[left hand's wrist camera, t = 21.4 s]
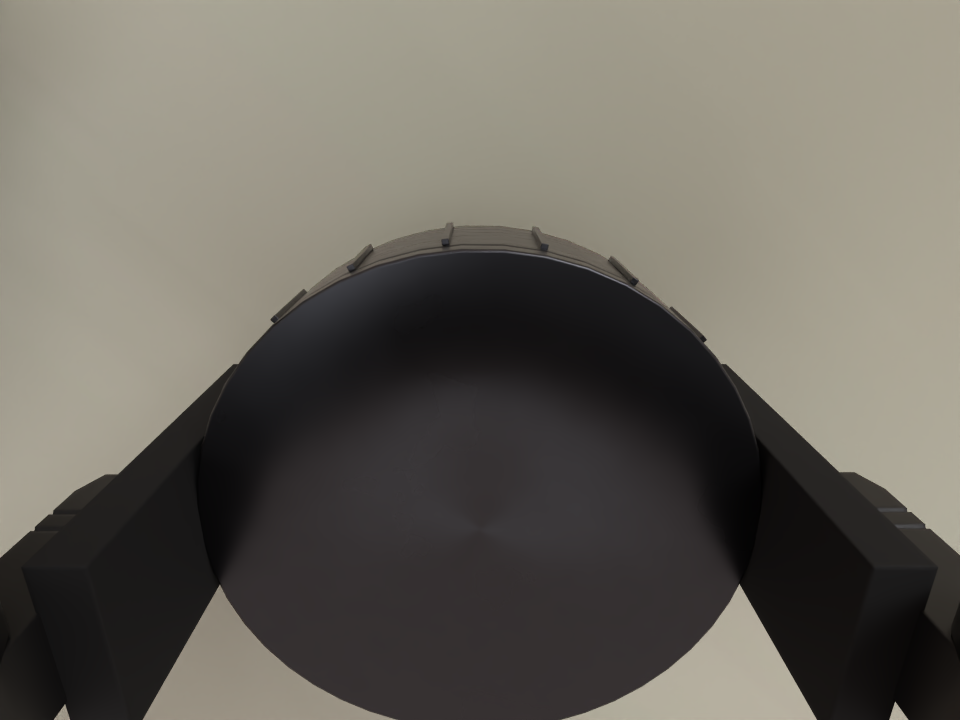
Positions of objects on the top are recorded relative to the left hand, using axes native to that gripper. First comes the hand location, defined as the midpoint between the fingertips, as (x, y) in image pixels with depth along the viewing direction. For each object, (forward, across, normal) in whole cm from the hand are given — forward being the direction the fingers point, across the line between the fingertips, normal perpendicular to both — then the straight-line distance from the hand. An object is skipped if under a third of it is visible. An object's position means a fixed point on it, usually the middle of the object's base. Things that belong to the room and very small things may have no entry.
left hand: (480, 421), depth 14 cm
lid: (-4, 0, 0) cm, 4 cm away
